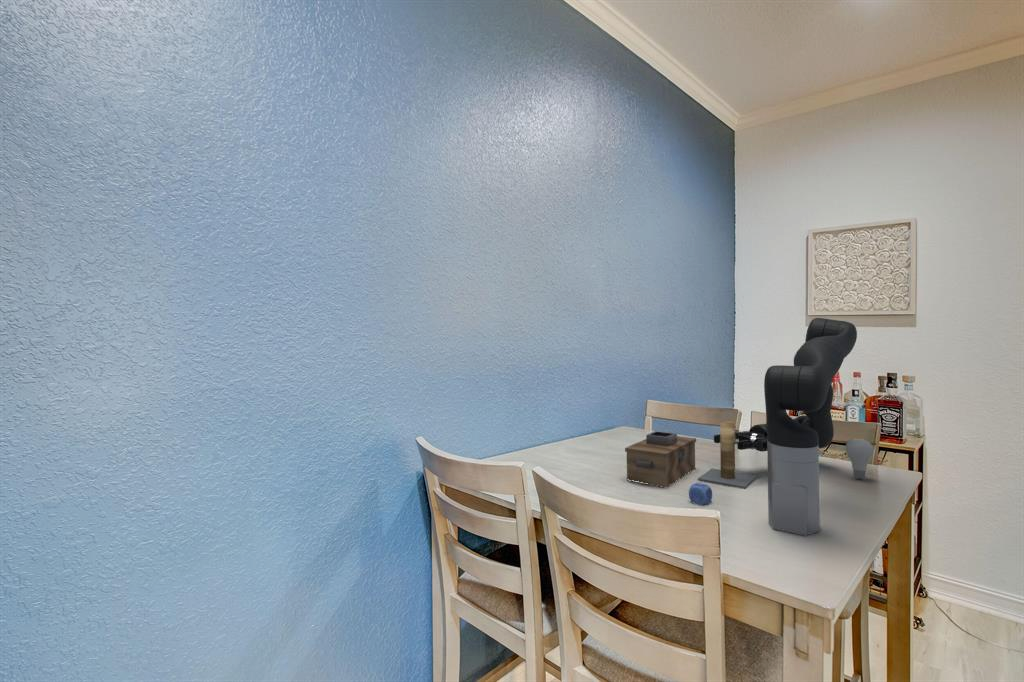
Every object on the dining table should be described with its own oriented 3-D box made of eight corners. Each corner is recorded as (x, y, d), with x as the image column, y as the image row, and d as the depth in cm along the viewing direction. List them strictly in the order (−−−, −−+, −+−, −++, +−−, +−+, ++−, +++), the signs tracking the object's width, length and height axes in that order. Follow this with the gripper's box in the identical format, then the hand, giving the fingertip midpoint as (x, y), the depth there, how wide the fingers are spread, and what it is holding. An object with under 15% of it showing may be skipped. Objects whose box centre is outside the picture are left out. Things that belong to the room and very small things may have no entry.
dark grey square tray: (668, 446, 133) (668, 437, 133) (646, 443, 137) (646, 434, 137) (677, 442, 138) (677, 433, 138) (655, 439, 142) (655, 431, 142)
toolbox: (664, 489, 124) (664, 455, 124) (623, 481, 132) (622, 448, 132) (698, 467, 144) (697, 437, 144) (660, 461, 151) (660, 433, 151)
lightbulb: (872, 477, 130) (872, 437, 130) (874, 484, 125) (874, 442, 125) (845, 474, 134) (844, 435, 134) (846, 480, 129) (845, 439, 128)
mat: (745, 489, 124) (745, 486, 124) (697, 480, 131) (697, 478, 131) (757, 477, 133) (756, 475, 133) (712, 470, 141) (712, 468, 141)
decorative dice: (696, 498, 118) (696, 481, 118) (712, 502, 115) (712, 485, 115) (688, 502, 115) (688, 485, 115) (705, 506, 112) (704, 489, 112)
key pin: (732, 479, 130) (732, 424, 129) (718, 477, 132) (718, 422, 131) (736, 476, 132) (736, 422, 132) (722, 473, 135) (722, 420, 134)
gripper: (750, 419, 144) (707, 424, 139) (792, 427, 131) (746, 433, 125) (750, 444, 144) (707, 450, 139) (793, 455, 131) (747, 462, 125)
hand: (726, 442), depth 132 cm, fingers open, 8 cm apart
